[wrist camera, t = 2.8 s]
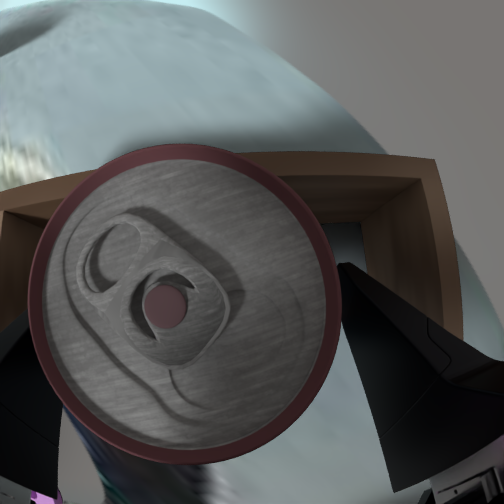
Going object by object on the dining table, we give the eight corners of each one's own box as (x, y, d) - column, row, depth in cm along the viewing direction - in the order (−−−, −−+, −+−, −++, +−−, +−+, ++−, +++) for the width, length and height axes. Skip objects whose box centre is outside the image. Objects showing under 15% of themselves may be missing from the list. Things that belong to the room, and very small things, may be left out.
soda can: (301, 294, 17) (436, 266, 5) (227, 389, 15) (214, 537, 4) (206, 220, 17) (159, 69, 5) (132, 313, 16) (-29, 315, 4)
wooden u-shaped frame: (389, 350, 16) (462, 367, 9) (64, 370, 15) (-6, 392, 8) (373, 206, 18) (434, 159, 11) (59, 229, 16) (-8, 194, 9)
